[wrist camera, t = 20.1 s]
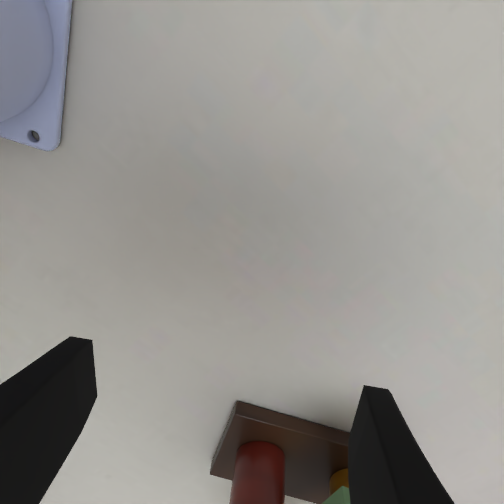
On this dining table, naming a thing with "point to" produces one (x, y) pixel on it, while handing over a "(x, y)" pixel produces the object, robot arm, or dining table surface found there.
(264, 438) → the rod stand
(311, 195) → the dining table surface
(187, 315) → the dining table surface
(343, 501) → the bar
